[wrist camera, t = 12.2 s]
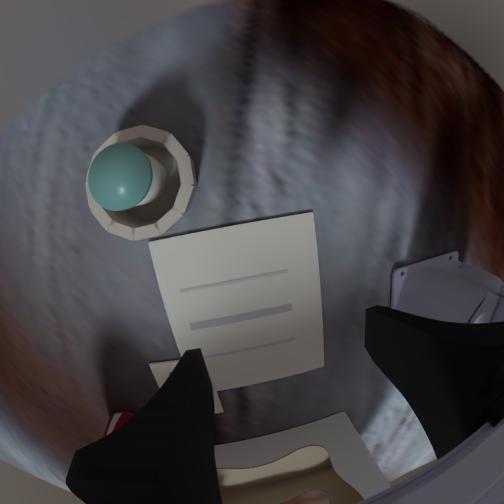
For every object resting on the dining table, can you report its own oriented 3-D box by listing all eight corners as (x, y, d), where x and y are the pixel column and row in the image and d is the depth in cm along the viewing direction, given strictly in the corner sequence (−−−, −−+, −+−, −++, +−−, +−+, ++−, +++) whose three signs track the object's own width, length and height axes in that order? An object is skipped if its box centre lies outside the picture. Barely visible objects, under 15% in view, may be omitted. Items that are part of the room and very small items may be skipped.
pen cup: (189, 129, 17) (183, 115, 13) (203, 219, 19) (201, 227, 15) (104, 151, 17) (80, 143, 13) (118, 237, 18) (98, 248, 14)
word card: (205, 355, 21) (205, 357, 21) (223, 410, 23) (223, 412, 23) (149, 363, 21) (148, 364, 20) (174, 416, 22) (174, 418, 22)
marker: (169, 155, 17) (147, 137, 11) (174, 200, 18) (153, 205, 11) (126, 162, 17) (86, 150, 10) (130, 206, 17) (91, 215, 11)
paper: (312, 211, 20) (313, 212, 20) (323, 365, 23) (324, 366, 23) (148, 241, 19) (148, 242, 18) (194, 392, 22) (194, 394, 22)
